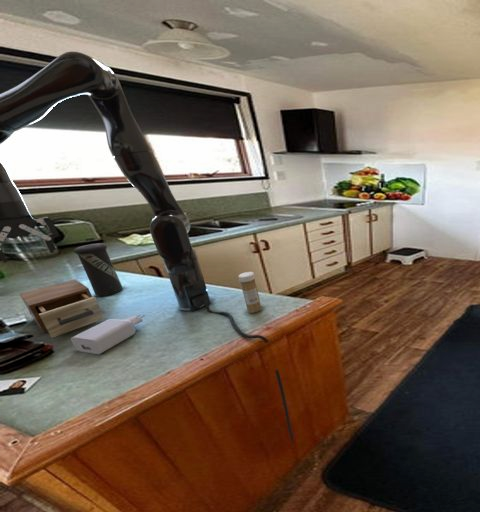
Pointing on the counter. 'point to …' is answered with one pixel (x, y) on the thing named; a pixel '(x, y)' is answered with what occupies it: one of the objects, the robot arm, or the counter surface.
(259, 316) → the counter surface
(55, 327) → the drawer
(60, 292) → the cabinet
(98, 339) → the charger
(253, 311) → the sprinkles bottle
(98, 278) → the container
